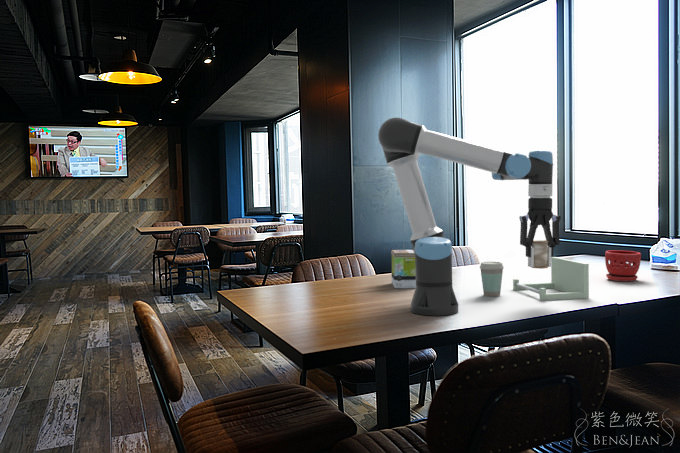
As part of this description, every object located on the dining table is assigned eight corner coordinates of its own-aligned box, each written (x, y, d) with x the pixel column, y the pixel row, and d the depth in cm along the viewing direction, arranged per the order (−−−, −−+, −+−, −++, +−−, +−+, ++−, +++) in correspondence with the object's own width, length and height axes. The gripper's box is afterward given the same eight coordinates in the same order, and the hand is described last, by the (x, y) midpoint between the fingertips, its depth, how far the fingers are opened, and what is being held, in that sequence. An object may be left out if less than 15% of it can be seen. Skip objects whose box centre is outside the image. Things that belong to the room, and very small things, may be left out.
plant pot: (611, 282, 217) (611, 253, 216) (601, 277, 230) (600, 250, 229) (646, 282, 215) (646, 252, 214) (633, 277, 228) (633, 249, 227)
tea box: (419, 288, 217) (418, 252, 216) (394, 289, 217) (393, 252, 216) (414, 282, 232) (413, 248, 231) (391, 283, 232) (390, 249, 231)
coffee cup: (505, 297, 192) (504, 264, 191) (480, 297, 194) (480, 264, 193) (502, 293, 200) (502, 261, 200) (479, 293, 202) (478, 261, 202)
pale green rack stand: (541, 300, 185) (541, 265, 184) (513, 289, 208) (512, 258, 207) (588, 297, 187) (588, 263, 186) (555, 287, 210) (555, 256, 209)
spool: (535, 268, 177) (535, 241, 176) (528, 266, 182) (528, 240, 182) (551, 268, 177) (551, 241, 177) (543, 266, 183) (543, 239, 182)
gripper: (518, 197, 174) (517, 268, 175) (572, 197, 176) (571, 267, 177) (509, 197, 181) (508, 265, 182) (560, 197, 183) (559, 264, 184)
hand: (539, 266), depth 180 cm, fingers closed on spool, 5 cm apart
